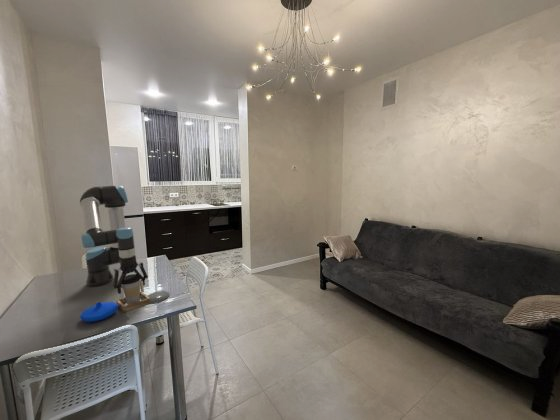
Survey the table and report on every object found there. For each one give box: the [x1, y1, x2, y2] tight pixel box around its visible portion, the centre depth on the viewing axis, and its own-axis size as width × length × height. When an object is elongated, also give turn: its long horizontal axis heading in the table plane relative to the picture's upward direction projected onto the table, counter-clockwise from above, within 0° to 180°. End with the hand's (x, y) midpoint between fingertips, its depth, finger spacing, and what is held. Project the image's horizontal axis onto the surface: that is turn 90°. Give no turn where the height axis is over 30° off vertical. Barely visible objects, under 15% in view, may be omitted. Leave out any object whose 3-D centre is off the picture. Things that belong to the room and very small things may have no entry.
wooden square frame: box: [115, 290, 151, 313], centre depth 138 cm, size 13×13×2 cm
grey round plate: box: [143, 290, 170, 304], centre depth 144 cm, size 13×13×1 cm
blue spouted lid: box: [79, 301, 119, 323], centre depth 126 cm, size 16×16×7 cm
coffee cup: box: [121, 273, 141, 306], centre depth 137 cm, size 9×9×15 cm
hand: (132, 294), depth 138 cm, fingers closed on coffee cup, 9 cm apart
